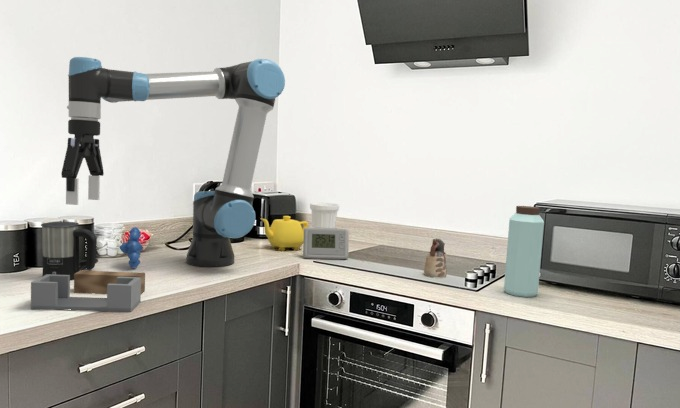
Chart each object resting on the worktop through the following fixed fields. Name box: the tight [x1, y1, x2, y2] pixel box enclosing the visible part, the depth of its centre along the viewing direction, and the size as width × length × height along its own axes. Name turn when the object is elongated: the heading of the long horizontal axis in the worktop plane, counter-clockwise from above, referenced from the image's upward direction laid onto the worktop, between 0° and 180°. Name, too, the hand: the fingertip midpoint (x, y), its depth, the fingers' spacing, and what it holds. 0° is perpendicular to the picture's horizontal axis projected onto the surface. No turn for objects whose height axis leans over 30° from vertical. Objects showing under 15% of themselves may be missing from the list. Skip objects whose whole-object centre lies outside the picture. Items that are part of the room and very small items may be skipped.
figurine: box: [423, 238, 448, 278], centre depth 181 cm, size 7×7×12 cm
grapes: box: [119, 226, 144, 269], centre depth 170 cm, size 12×7×12 cm, turn 19°
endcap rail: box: [30, 274, 142, 313], centre depth 129 cm, size 21×8×6 cm, turn 95°
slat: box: [73, 270, 146, 295], centre depth 142 cm, size 16×4×5 cm, turn 94°
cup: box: [309, 202, 340, 228], centre depth 238 cm, size 12×12×15 cm
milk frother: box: [40, 221, 99, 280], centre depth 157 cm, size 14×16×15 cm
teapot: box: [259, 215, 309, 252], centre depth 214 cm, size 13×20×12 cm
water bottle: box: [503, 205, 545, 298], centre depth 162 cm, size 10×10×25 cm
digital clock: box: [302, 227, 349, 261], centre depth 200 cm, size 16×9×11 cm, turn 86°
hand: (83, 202), depth 147 cm, fingers open, 13 cm apart
